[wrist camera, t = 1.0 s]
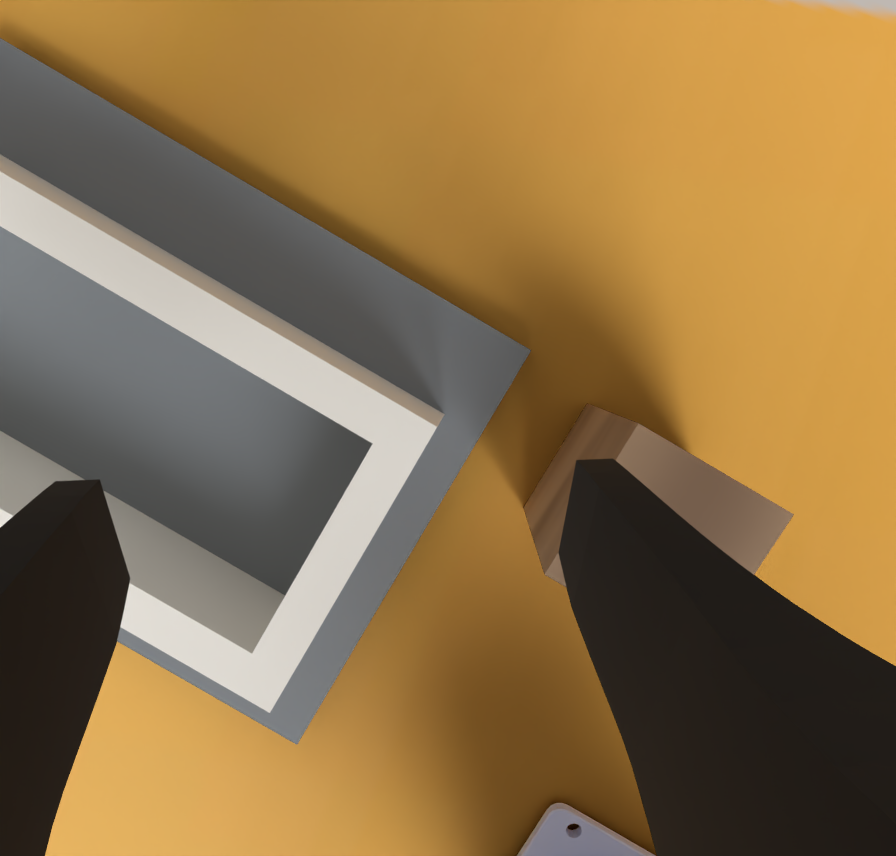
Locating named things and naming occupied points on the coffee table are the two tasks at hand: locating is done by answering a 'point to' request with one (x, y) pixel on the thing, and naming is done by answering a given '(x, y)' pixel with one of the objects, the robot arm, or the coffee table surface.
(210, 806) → the coffee table surface
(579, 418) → the walnut block
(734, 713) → the robot arm
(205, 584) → the well
